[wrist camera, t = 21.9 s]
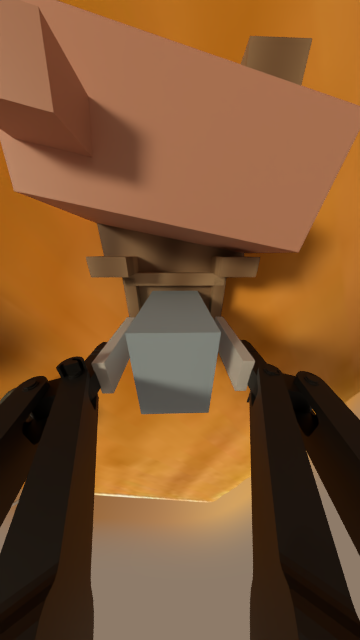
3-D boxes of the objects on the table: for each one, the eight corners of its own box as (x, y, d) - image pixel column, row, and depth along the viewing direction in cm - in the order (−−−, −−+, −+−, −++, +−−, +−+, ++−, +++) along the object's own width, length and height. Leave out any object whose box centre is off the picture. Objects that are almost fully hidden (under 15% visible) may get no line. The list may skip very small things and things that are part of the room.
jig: (128, 350, 20) (115, 375, 16) (80, 116, 10) (17, 27, 6) (223, 349, 20) (234, 373, 16) (263, 121, 11) (317, 38, 6)
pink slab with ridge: (97, 223, 12) (-55, 163, 4) (91, 143, 10) (-241, -286, 2) (242, 253, 14) (337, 251, 6) (264, 188, 12) (470, 33, 3)
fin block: (157, 342, 18) (141, 414, 10) (152, 290, 15) (124, 333, 7) (194, 342, 18) (208, 412, 10) (197, 290, 15) (220, 332, 7)
